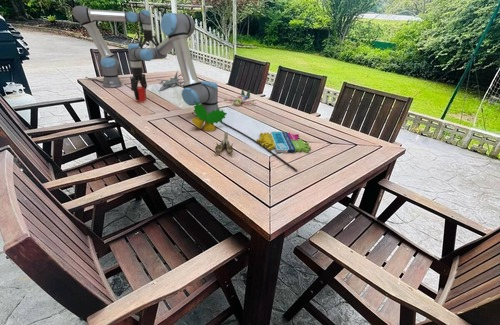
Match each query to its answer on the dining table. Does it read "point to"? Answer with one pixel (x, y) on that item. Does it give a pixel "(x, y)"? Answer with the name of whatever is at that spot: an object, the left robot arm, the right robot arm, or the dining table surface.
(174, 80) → the airplane
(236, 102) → the toy
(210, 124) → the ornament
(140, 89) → the can
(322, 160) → the dining table surface
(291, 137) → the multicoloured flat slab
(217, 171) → the dining table surface
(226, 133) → the jawbone
